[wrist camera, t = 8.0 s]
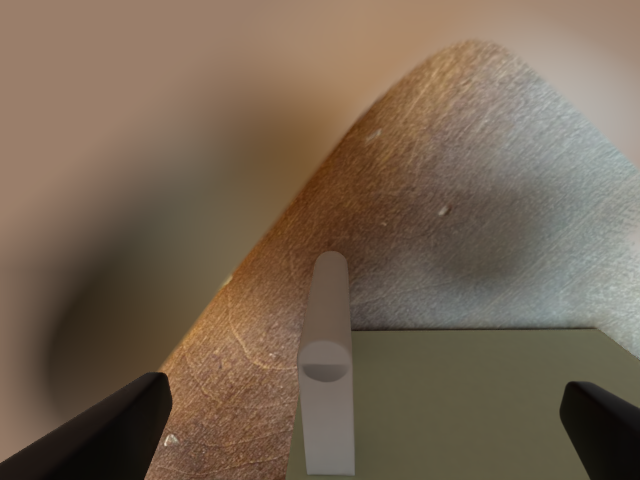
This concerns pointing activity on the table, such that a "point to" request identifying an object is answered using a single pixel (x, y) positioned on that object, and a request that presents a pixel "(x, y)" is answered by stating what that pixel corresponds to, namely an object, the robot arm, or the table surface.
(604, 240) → the table surface
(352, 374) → the door
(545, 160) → the table surface
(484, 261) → the table surface
